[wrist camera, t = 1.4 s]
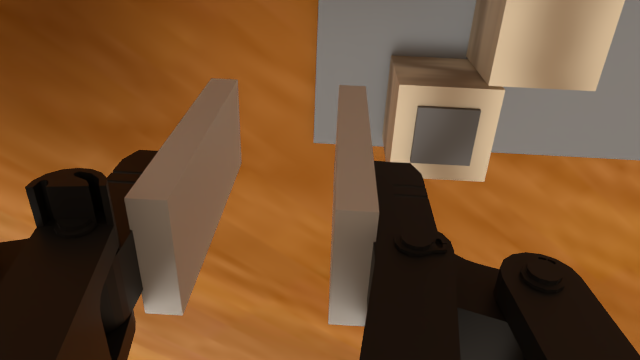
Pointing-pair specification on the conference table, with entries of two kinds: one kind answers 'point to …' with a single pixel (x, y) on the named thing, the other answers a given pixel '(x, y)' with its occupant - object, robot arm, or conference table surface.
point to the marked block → (440, 117)
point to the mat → (452, 42)
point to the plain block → (542, 42)
